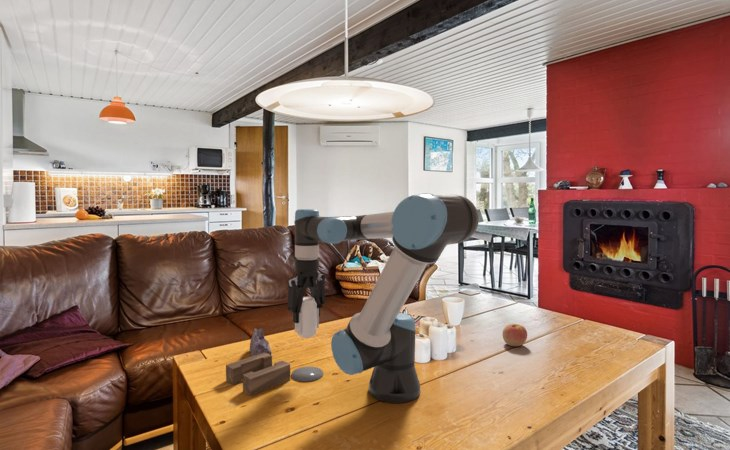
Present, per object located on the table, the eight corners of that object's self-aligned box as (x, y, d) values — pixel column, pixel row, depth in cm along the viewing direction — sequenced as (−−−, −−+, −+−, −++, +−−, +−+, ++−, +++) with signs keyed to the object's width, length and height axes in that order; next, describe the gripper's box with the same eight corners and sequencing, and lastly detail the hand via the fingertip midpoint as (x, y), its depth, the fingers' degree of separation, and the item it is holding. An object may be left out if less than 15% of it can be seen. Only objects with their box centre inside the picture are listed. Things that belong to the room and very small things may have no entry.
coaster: (329, 374, 129) (329, 372, 129) (305, 384, 122) (305, 383, 122) (309, 365, 136) (309, 363, 136) (285, 374, 129) (285, 373, 129)
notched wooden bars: (290, 379, 125) (290, 364, 125) (250, 395, 115) (250, 379, 115) (264, 366, 135) (264, 352, 134) (226, 380, 124) (225, 364, 124)
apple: (531, 347, 154) (532, 327, 153) (512, 350, 151) (513, 329, 150) (515, 339, 162) (515, 320, 161) (497, 342, 159) (497, 322, 158)
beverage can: (319, 333, 130) (319, 296, 129) (312, 339, 124) (311, 301, 123) (302, 331, 132) (301, 295, 131) (293, 337, 126) (293, 300, 125)
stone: (270, 335, 136) (263, 321, 150) (252, 338, 134) (246, 323, 148) (272, 364, 138) (265, 347, 152) (254, 368, 135) (248, 351, 149)
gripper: (322, 253, 136) (321, 320, 138) (274, 260, 122) (274, 334, 124) (337, 256, 131) (336, 325, 133) (289, 263, 117) (289, 340, 118)
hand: (307, 329), depth 128 cm, fingers closed on beverage can, 6 cm apart
